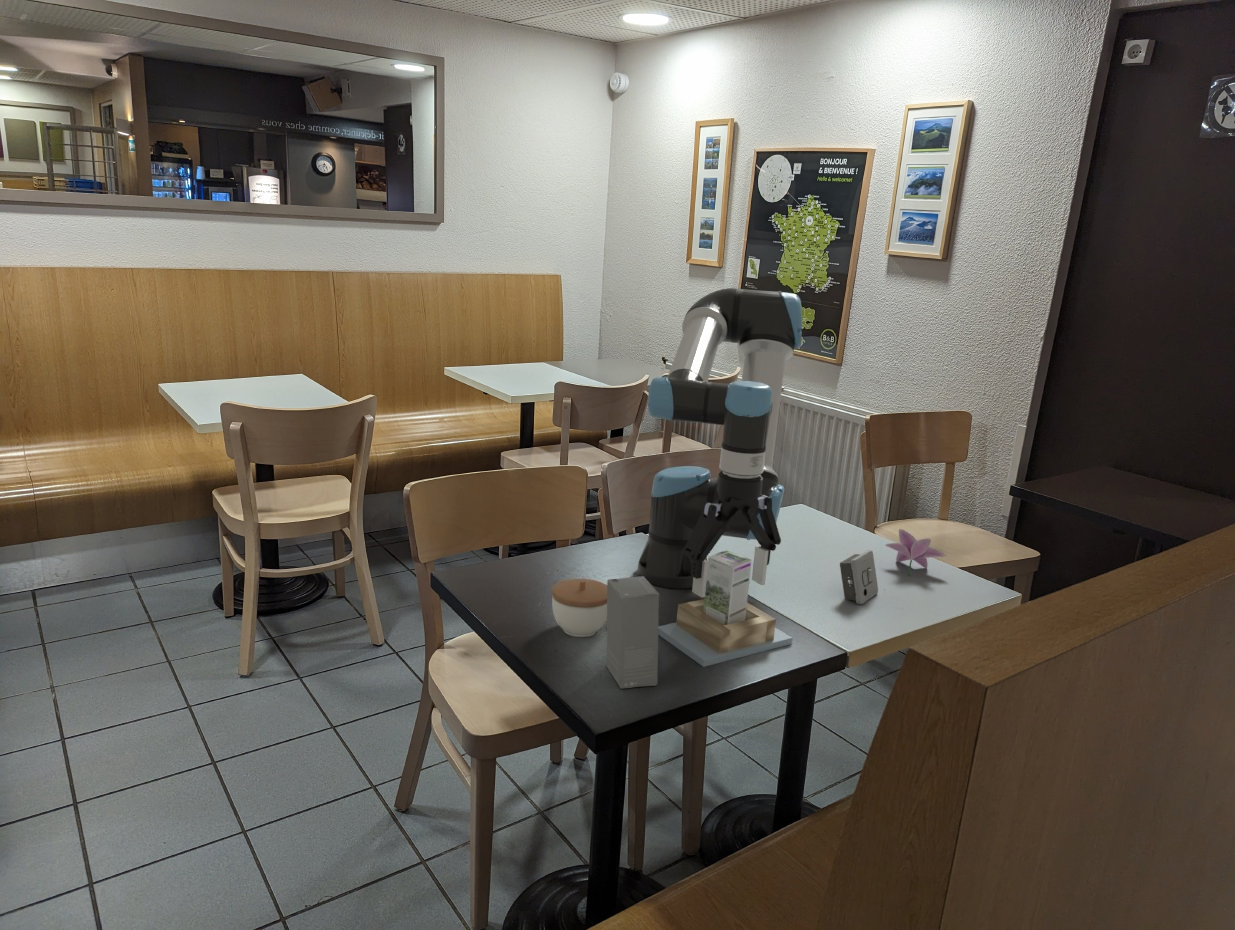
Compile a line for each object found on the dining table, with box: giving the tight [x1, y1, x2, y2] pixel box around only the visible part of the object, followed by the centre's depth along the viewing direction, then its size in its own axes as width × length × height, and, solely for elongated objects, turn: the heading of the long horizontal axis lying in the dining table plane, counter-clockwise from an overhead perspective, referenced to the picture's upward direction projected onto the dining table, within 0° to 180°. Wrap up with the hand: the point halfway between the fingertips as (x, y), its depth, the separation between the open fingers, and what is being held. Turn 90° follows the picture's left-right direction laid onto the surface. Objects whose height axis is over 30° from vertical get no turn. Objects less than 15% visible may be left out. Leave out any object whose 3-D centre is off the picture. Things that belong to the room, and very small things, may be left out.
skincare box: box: [606, 576, 660, 689], centre depth 137 cm, size 8×7×16 cm
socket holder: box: [658, 598, 793, 668], centre depth 154 cm, size 20×14×5 cm
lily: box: [885, 528, 947, 577], centre depth 193 cm, size 12×12×10 cm
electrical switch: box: [839, 550, 879, 605], centre depth 177 cm, size 9×5×9 cm, turn 141°
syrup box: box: [703, 550, 752, 625], centre depth 152 cm, size 6×6×14 cm
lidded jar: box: [551, 578, 607, 638], centre depth 153 cm, size 11×11×9 cm
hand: (728, 588), depth 152 cm, fingers open, 13 cm apart
